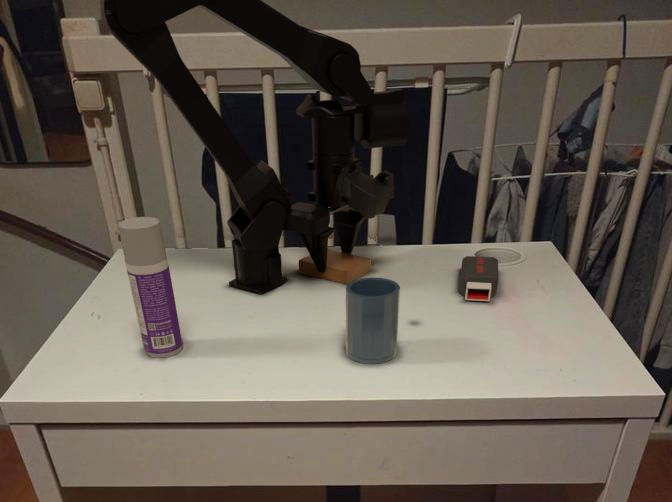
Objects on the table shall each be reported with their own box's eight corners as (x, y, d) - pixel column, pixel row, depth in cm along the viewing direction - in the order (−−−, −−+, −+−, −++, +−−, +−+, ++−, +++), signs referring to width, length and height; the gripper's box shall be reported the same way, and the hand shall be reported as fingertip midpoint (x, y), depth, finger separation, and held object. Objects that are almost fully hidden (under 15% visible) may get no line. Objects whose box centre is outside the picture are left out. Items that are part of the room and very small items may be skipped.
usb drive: (496, 272, 94) (498, 253, 92) (496, 303, 84) (499, 283, 83) (461, 270, 95) (463, 252, 93) (457, 301, 85) (459, 281, 84)
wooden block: (298, 273, 96) (298, 260, 95) (323, 260, 100) (322, 248, 99) (347, 284, 92) (347, 270, 90) (370, 271, 96) (370, 257, 94)
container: (189, 343, 78) (168, 217, 68) (171, 360, 74) (146, 230, 65) (157, 338, 79) (132, 215, 70) (137, 355, 76) (108, 227, 66)
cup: (336, 355, 74) (335, 290, 69) (363, 337, 78) (364, 273, 73) (379, 368, 71) (382, 301, 66) (405, 348, 75) (409, 283, 70)
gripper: (344, 172, 76) (344, 296, 85) (417, 145, 87) (410, 256, 97) (273, 163, 81) (281, 280, 91) (351, 138, 93) (351, 245, 102)
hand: (334, 265), depth 95 cm, fingers closed on wooden block, 6 cm apart
